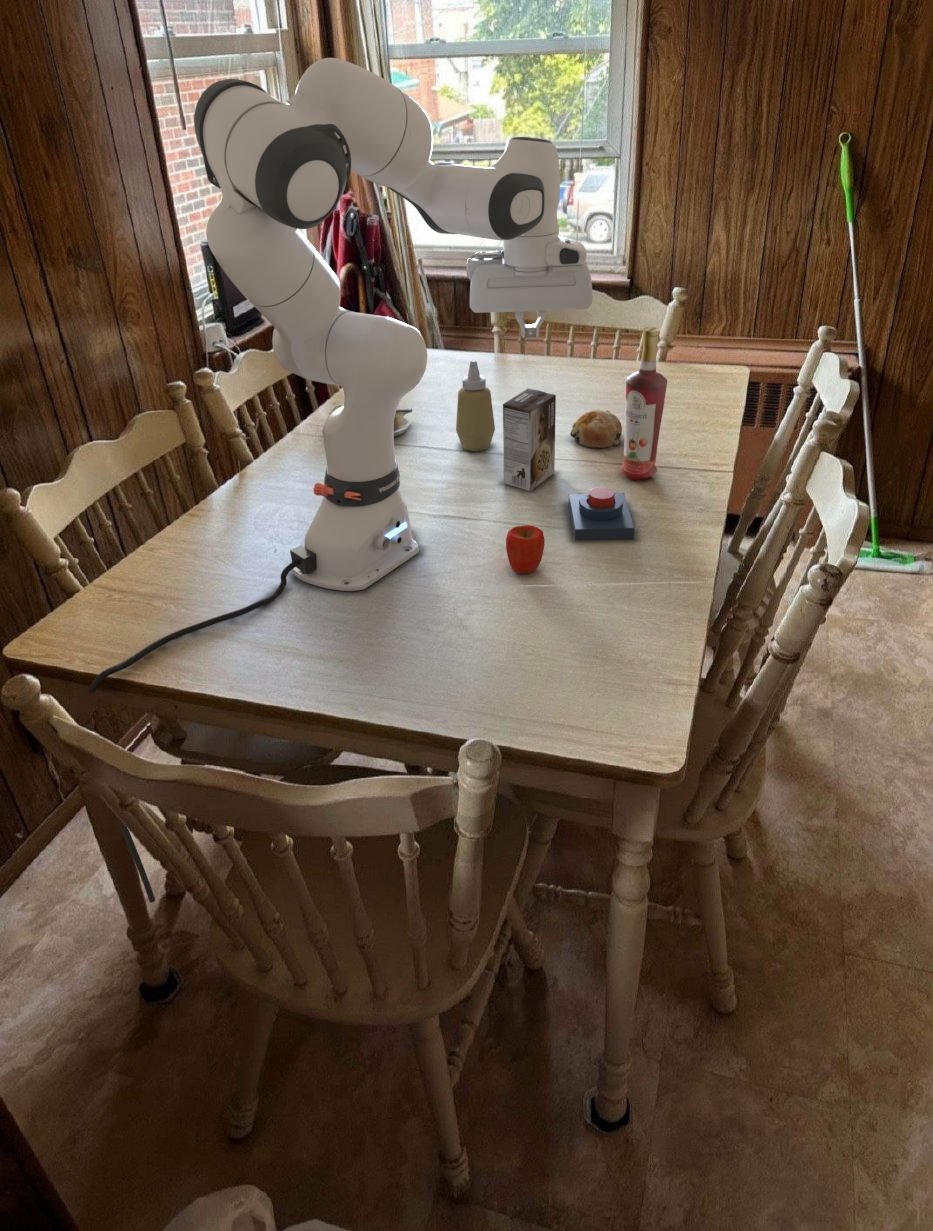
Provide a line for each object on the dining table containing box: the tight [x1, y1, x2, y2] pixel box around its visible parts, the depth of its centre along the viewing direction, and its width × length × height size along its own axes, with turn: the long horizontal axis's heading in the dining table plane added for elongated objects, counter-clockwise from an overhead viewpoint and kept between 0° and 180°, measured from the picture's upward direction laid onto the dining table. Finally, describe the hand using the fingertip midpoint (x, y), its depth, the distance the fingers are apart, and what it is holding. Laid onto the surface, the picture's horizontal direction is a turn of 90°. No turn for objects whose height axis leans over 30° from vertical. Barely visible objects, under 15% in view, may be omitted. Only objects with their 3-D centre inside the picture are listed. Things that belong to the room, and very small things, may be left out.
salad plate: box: [328, 405, 413, 438], centre depth 191 cm, size 19×18×5 cm
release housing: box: [568, 492, 636, 541], centre depth 154 cm, size 13×10×4 cm
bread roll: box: [570, 409, 623, 449], centre depth 182 cm, size 10×10×8 cm
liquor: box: [620, 326, 668, 482], centre depth 161 cm, size 7×7×28 cm
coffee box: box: [502, 388, 557, 492], centre depth 165 cm, size 9×6×16 cm
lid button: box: [588, 486, 615, 508], centre depth 152 cm, size 4×4×2 cm
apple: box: [505, 524, 546, 575], centre depth 141 cm, size 6×6×8 cm
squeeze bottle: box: [455, 359, 496, 452], centre depth 178 cm, size 8×8×18 cm
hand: (530, 336), depth 149 cm, fingers closed
